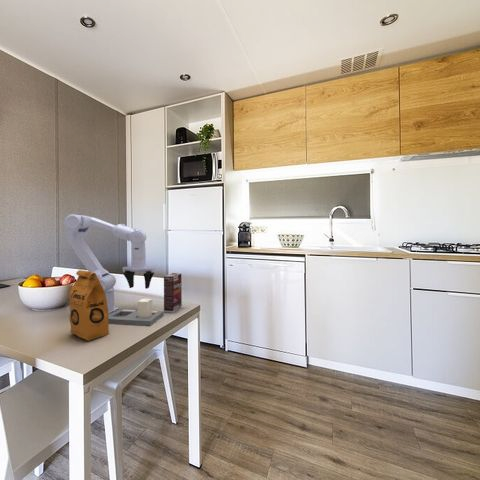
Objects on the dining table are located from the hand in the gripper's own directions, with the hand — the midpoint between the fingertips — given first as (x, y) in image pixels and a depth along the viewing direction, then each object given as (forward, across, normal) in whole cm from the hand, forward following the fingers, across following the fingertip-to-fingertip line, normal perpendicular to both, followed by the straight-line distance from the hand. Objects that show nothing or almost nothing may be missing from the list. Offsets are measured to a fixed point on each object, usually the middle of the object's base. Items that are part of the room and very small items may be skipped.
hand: (139, 287), depth 108 cm
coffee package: (+10, -3, -26) cm, 28 cm away
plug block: (+10, +9, -11) cm, 17 cm away
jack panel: (+10, +4, -11) cm, 15 cm away
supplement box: (+10, +15, +2) cm, 18 cm away
